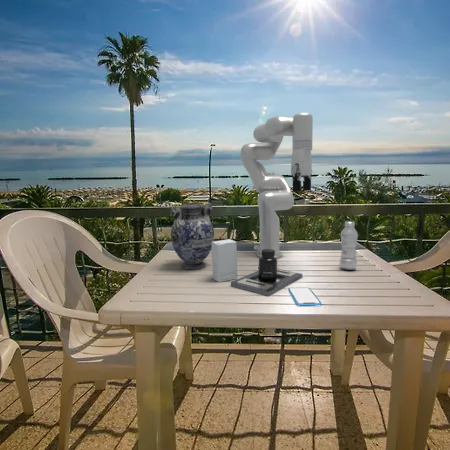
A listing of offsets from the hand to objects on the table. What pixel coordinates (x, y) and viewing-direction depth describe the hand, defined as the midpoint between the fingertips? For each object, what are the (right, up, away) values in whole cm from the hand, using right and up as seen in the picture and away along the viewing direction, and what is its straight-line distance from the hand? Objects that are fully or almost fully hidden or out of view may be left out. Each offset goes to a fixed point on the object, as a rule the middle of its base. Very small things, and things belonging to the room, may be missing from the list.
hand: (302, 190), depth 127 cm
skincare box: (-31, -35, -4) cm, 46 cm away
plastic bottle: (+20, -32, +6) cm, 38 cm away
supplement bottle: (-15, -35, -8) cm, 39 cm away
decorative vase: (-44, -32, +14) cm, 56 cm away
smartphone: (-5, -38, -23) cm, 44 cm away
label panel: (-15, -35, -8) cm, 38 cm away
